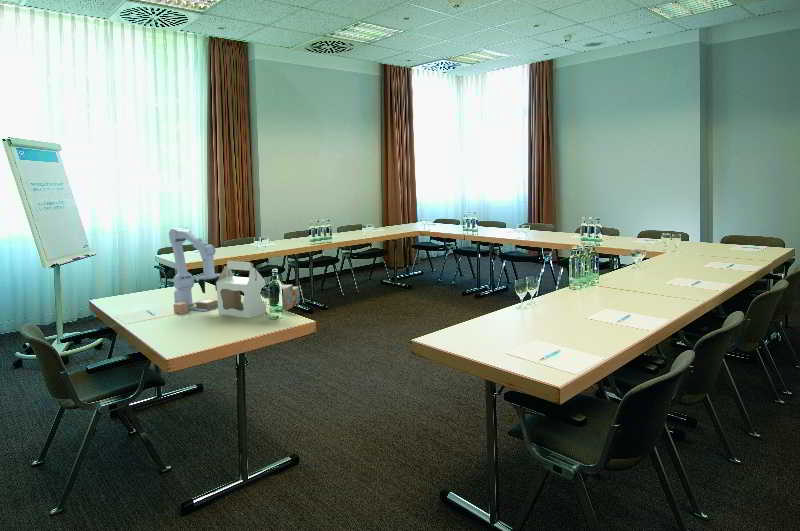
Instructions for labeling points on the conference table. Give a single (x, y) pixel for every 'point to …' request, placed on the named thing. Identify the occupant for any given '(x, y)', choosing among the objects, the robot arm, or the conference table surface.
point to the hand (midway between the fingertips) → (210, 291)
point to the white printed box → (290, 296)
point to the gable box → (231, 291)
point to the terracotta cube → (180, 307)
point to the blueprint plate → (205, 305)
